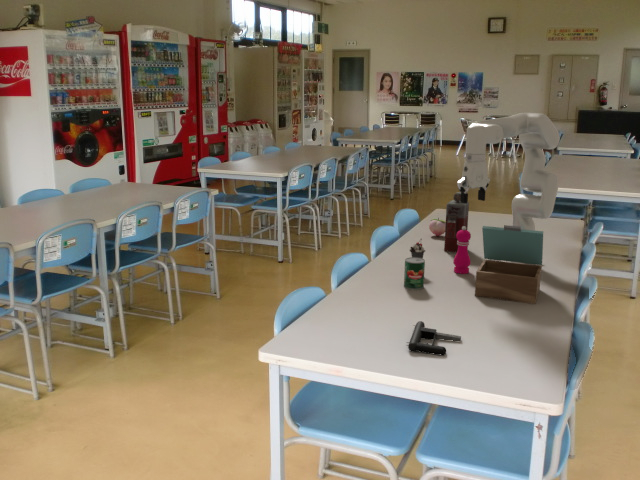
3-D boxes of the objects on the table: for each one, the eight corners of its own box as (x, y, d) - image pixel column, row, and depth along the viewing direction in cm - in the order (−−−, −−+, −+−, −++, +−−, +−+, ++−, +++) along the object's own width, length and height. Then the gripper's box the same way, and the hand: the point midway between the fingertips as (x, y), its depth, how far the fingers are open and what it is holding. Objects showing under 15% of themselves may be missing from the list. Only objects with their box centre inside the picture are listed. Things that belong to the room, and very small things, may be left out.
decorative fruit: (449, 235, 338) (450, 217, 335) (443, 238, 331) (444, 219, 328) (432, 233, 342) (433, 215, 340) (426, 236, 336) (427, 217, 333)
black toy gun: (462, 327, 208) (413, 319, 212) (458, 351, 189) (404, 342, 193) (461, 336, 209) (412, 328, 213) (457, 362, 190) (403, 352, 194)
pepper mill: (470, 274, 270) (473, 228, 266) (452, 273, 272) (455, 227, 267) (469, 270, 277) (472, 224, 272) (452, 268, 279) (455, 224, 274)
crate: (482, 282, 260) (484, 259, 258) (539, 289, 252) (541, 265, 249) (474, 296, 244) (476, 271, 242) (535, 304, 236) (537, 278, 233)
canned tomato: (411, 290, 250) (412, 263, 247) (399, 285, 257) (400, 258, 254) (427, 287, 254) (429, 261, 251) (416, 282, 260) (417, 256, 258)
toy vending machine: (442, 252, 305) (445, 194, 298) (448, 246, 315) (451, 190, 308) (461, 254, 302) (465, 195, 295) (466, 248, 312) (469, 191, 305)
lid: (484, 259, 258) (484, 257, 258) (541, 265, 249) (542, 263, 250) (482, 225, 243) (482, 223, 244) (543, 230, 235) (543, 228, 236)
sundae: (425, 271, 274) (427, 237, 271) (423, 276, 268) (424, 241, 264) (410, 270, 276) (411, 236, 273) (407, 274, 270) (408, 240, 267)
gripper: (466, 160, 239) (464, 205, 244) (498, 157, 249) (495, 200, 253) (452, 158, 246) (449, 202, 250) (483, 155, 255) (480, 197, 259)
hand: (472, 201), depth 251 cm, fingers open, 9 cm apart
